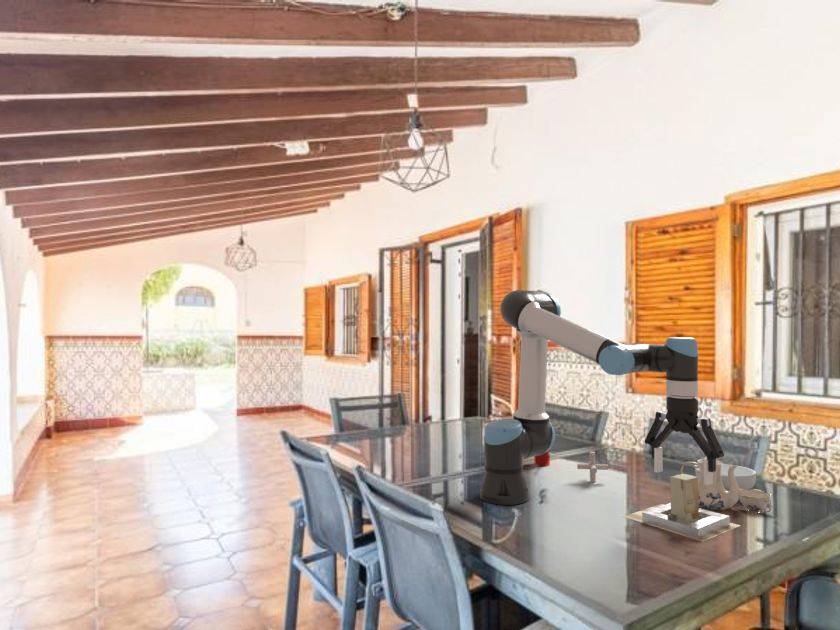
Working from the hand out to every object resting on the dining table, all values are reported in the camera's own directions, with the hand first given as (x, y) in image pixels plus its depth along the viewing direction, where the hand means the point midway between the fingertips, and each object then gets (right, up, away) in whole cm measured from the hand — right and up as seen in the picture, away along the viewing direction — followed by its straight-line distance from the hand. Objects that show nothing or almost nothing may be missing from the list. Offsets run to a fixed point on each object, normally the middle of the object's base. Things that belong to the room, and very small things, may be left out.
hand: (682, 477), depth 143 cm
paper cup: (-22, -15, +68) cm, 73 cm away
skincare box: (0, -12, -1) cm, 12 cm away
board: (0, -13, +2) cm, 13 cm away
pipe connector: (-10, -14, +43) cm, 46 cm away
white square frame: (0, -12, -1) cm, 12 cm away
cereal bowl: (+28, -14, +30) cm, 43 cm away
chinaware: (+17, -13, +16) cm, 27 cm away
